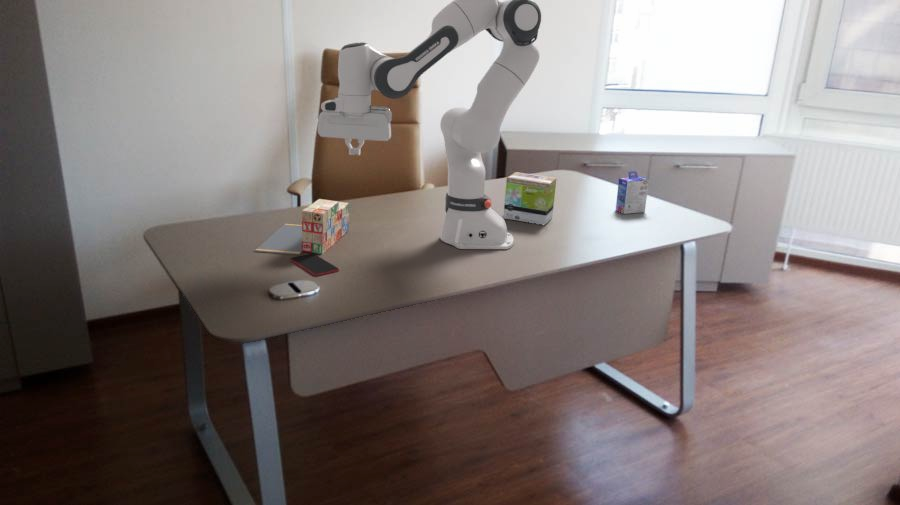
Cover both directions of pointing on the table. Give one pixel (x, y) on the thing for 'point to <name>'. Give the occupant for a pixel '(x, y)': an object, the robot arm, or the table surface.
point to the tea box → (529, 198)
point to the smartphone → (314, 264)
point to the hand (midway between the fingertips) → (354, 154)
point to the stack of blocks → (323, 225)
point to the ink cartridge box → (632, 194)
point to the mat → (284, 241)
